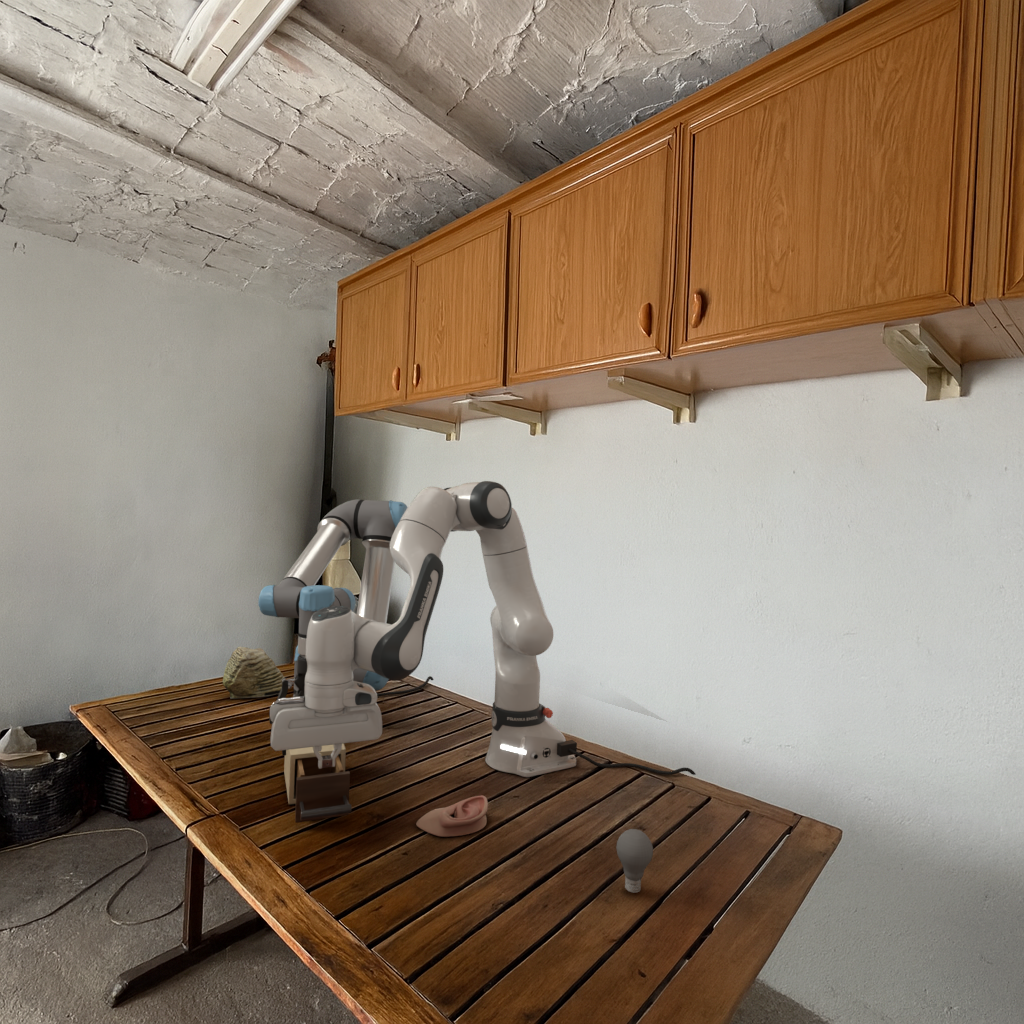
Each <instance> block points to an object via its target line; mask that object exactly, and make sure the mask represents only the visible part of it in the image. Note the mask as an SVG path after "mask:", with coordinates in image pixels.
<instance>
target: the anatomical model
mask: <svg viewBox="0 0 1024 1024" xmlns="http://www.w3.org/2000/svg"><path fill="white" fill-rule="evenodd" d="M488 810H489V801H488V799H487V797H486V796H484V795H475V796H472V797H468V798H464V799H462V800H460V801H458V802H456V803H453V804H451V805H448V806H446V807H439V808H435V809H432V810H430V811H428V812H427V813H425V814H423V816H421V817H419V819H418V820H417V821H416V823H415V824H416V827H418V828H419V829H420V830H422V831H424V832H425V833H428V834H430V835H433V836H437V837H439V838H441V837H442V838H443V837H444V838H448V837H458V836H465V835H469V834H474V833H476V832H479V831H480V830H481V831H482V830H483V829H484V828H485V827H486V825H487V822H488V821H487V819H488V818H487V815H486V814H487V812H488Z"/></svg>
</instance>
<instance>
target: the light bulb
mask: <svg viewBox="0 0 1024 1024" xmlns="http://www.w3.org/2000/svg"><path fill="white" fill-rule="evenodd" d="M615 849H616V854H617V857H618V859H619V861H620V863H621V865H622V867H623V873H624V874H623V875H624V876H625V878H624V888H625V890H627V891H628V892H630V893H634V894H635V893H639V892H640V891H641V889H642V887H641V886H642V879H643V877H644V875H645V871H646V868H647V867H648V866H649V864H650V863H651V861H652V859H653V855H654V847H653V843H652V841H651V838H649V836H648V835H647V834H646V833H645V832H643V831H642V830H641V829H636V828H629V829H627V830H625V831H623V832H622V833H621V834H620V835H619V837H618V839H617V841H616V847H615Z"/></svg>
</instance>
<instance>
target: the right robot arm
mask: <svg viewBox="0 0 1024 1024" xmlns="http://www.w3.org/2000/svg"><path fill="white" fill-rule="evenodd" d="M407 507H408V508H407V509H406V511H405V512H404V514H403V516H402V518H401V519H400V521H399V523H398V525H397V527H396V529H395V531H394V533H393V535H392V538H391V541H390V552H391V555H392V558H393V560H394V561H395V565H397V566H398V567H399V569H401V570H403V572H405V573H406V574H408V576H409V578H410V579H409V580H410V584H409V585H410V586H409V589H408V592H407V595H406V598H405V601H404V604H403V607H402V609H401V613H400V615H399V618H398V619H397V620H396V622H394V623H392V624H391V623H387V622H386V623H382V622H379V621H375V620H371V619H367V618H364V617H362V616H359V615H357V613H356V612H354V611H353V612H352V610H351V609H350V608H348V607H344V606H334V607H326V608H323V609H320V610H318V611H317V612H315V613H314V614H313V615H312V617H311V619H310V622H309V625H308V630H307V638H306V661H307V673H306V675H305V692H304V696H298V697H293V696H292V697H285V698H280V699H279V700H278V701H273V703H272V704H271V705H270V706H269V713H268V714H269V715H268V716H269V717H270V720H271V721H272V722H273V723H272V724H271V731H270V739H269V740H270V741H269V743H270V747H271V748H272V750H274V751H275V752H279V751H281V752H282V750H290V749H298V748H307V747H313V751H314V753H315V755H316V756H317V758H318V767H319V769H322V768H329V767H335V758H336V757H337V756H338V754H339V752H340V751H341V749H342V743H343V744H351V743H359V742H368V741H376V740H379V739H380V738H381V736H382V735H383V717H382V711H381V708H380V707H379V705H378V703H377V702H378V697H377V694H378V693H377V691H375V689H374V688H373V687H372V686H371V685H369V684H365V683H361V682H357V681H353V671H354V670H355V669H357V668H361V669H363V670H367V671H370V672H374V673H377V674H379V675H381V676H383V677H385V678H387V679H389V680H390V681H394V682H398V681H401V680H405V679H406V678H407V677H410V676H411V674H413V673H414V672H415V671H416V670H417V668H418V667H419V665H420V663H421V661H422V659H423V656H424V655H423V653H424V649H425V640H426V635H427V631H428V628H429V625H430V622H431V619H432V615H433V612H434V609H435V606H436V602H437V599H438V597H439V593H440V590H441V589H440V588H441V586H442V582H443V577H444V564H443V561H442V560H441V559H442V553H443V550H444V547H445V545H446V543H447V540H448V539H449V536H450V533H451V532H474V531H475V532H476V533H477V534H478V536H479V540H480V547H481V554H482V559H483V563H484V567H485V568H484V569H485V573H486V579H487V583H488V587H489V589H490V591H491V593H492V595H493V599H494V602H495V604H496V605H495V606H494V607H493V608H492V611H491V613H490V616H489V620H490V621H489V622H490V626H491V634H492V635H491V636H492V648H493V650H492V651H493V659H494V668H495V669H494V670H495V673H494V674H495V676H494V677H495V678H494V701H493V702H492V707H491V708H492V709H491V728H492V730H491V736H490V741H489V744H488V745H489V746H488V749H487V753H486V755H485V758H484V761H485V763H486V764H487V766H489V767H490V768H492V769H494V770H496V771H500V772H503V773H509V774H513V775H517V776H519V777H523V778H530V777H531V778H532V777H536V776H539V775H544V774H547V773H553V772H558V771H562V770H566V769H570V768H575V767H576V766H577V758H576V756H577V757H578V758H581V759H583V760H585V761H587V762H589V763H590V764H592V765H594V766H596V767H599V768H604V769H609V768H610V769H611V768H612V769H613V768H636V769H640V770H644V771H646V772H650V773H652V774H653V773H654V774H656V775H657V774H659V775H662V776H663V775H664V776H673V775H676V774H679V773H683V772H688V773H690V774H691V775H693V776H695V775H697V774H696V772H695V771H694V770H693V769H692V768H689V767H680V768H677V769H673V770H660V769H655V768H652V767H649V766H646V765H642V764H638V763H631V762H619V763H602V762H601V763H600V762H597V761H595V760H593V759H592V758H590V757H589V756H587V755H585V754H582V753H580V752H579V751H578V742H577V741H575V740H573V739H570V740H566V737H565V735H564V734H563V733H562V731H561V730H559V729H558V727H556V726H555V725H554V724H552V723H551V722H550V721H549V720H548V719H551V718H552V716H554V712H553V710H552V709H551V708H549V707H546V706H545V705H543V704H541V703H540V692H541V691H540V690H541V670H540V668H539V663H538V657H537V656H539V655H542V654H544V653H545V652H547V650H548V649H550V647H551V645H552V643H553V640H554V627H553V626H552V623H551V622H550V620H549V618H548V615H547V611H546V609H545V606H544V603H543V600H542V597H541V594H540V591H539V589H538V587H537V586H538V585H537V583H536V579H535V577H534V573H533V569H532V563H531V558H530V553H529V549H528V544H527V539H526V535H525V532H524V528H523V526H522V522H521V520H520V517H519V515H518V513H517V511H516V509H514V507H513V503H512V499H511V496H510V494H509V492H508V491H507V489H506V487H504V486H503V484H501V483H499V482H497V481H490V480H483V481H475V482H474V481H473V482H465V483H462V484H459V485H455V486H451V487H445V488H442V487H438V486H427V487H424V488H423V489H421V490H420V491H419V492H418V493H417V494H416V495H415V497H414V498H413V499H412V501H411V502H410V503H409V504H408V505H407ZM276 703H279V704H276ZM546 718H547V719H546ZM325 745H333V747H334V750H333V752H332V753H331V755H327V756H322V755H321V753H320V752H319V751H321V750H322V746H325ZM671 771H672V772H671Z"/></svg>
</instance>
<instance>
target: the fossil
mask: <svg viewBox="0 0 1024 1024" xmlns="http://www.w3.org/2000/svg"><path fill="white" fill-rule="evenodd" d="M222 676H223V677H222V685H223V687H224V688H225V690H226V691H228V693H229V698H230V699H250V698H264V697H271V696H275V695H279V693H280V690H281V688H282V679H283V678H286V677H285V676H284V674H283V673H282V672H281V669H279V668H278V667H277V665H276V663H275V662H274V660H273V659H272V658H271V657H270V656H269V655H268V654H267V653H266V652H265V650H264V649H263V648H260V647H258V648H251V647H247V646H246V647H245V646H238V647H237V648H236V649H235V650H233V651H232V653H231V656H230V657H229V659H228V660H227V663H226V666H225V668H224V671H223V675H222Z"/></svg>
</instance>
